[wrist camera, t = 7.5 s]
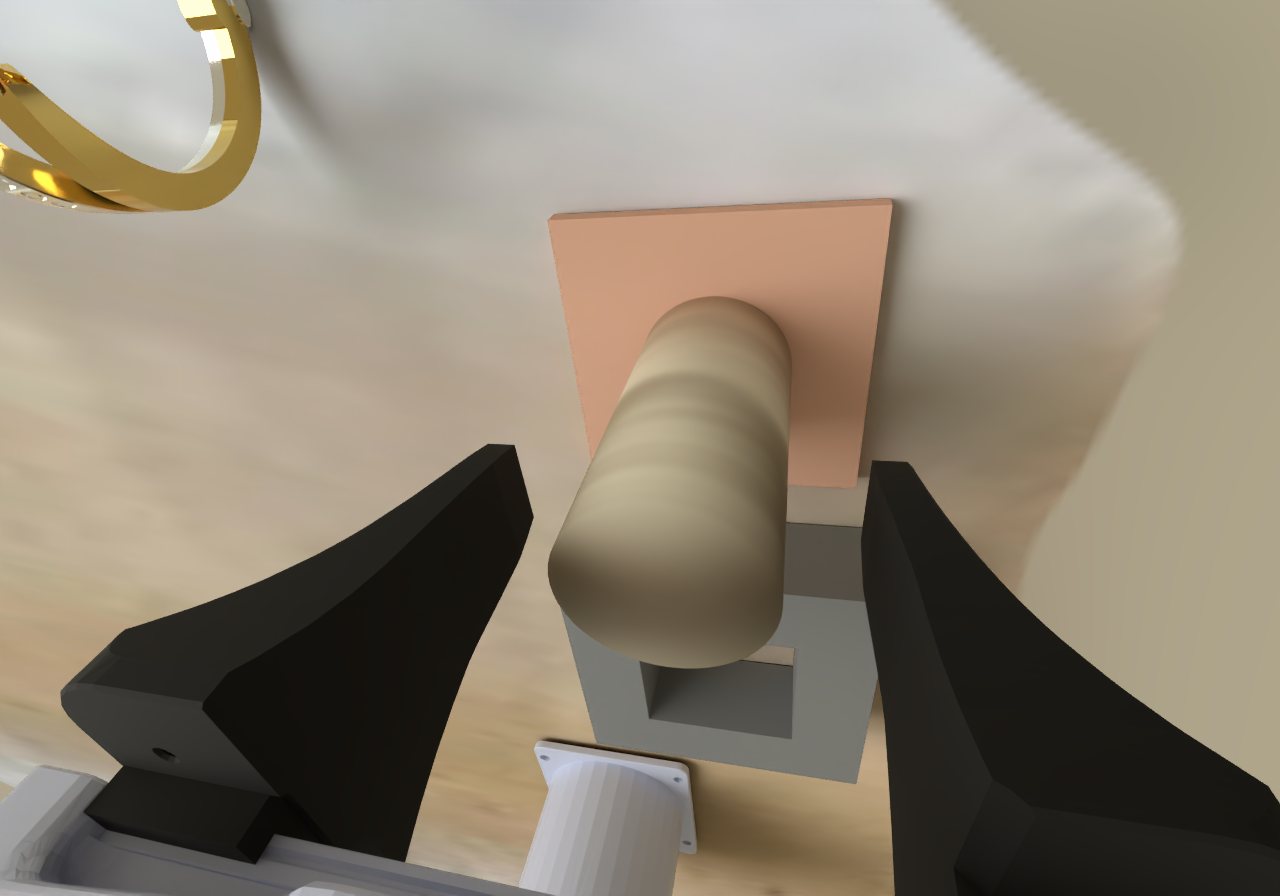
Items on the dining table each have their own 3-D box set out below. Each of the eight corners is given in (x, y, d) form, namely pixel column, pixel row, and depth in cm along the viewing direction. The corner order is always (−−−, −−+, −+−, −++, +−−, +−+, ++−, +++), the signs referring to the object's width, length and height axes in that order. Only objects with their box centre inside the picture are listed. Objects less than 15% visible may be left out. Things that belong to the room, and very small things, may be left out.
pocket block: (851, 709, 25) (856, 784, 23) (614, 678, 28) (596, 743, 25) (881, 529, 19) (892, 604, 17) (578, 509, 22) (551, 572, 19)
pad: (854, 477, 18) (856, 488, 18) (598, 465, 20) (594, 474, 20) (889, 198, 14) (892, 204, 13) (553, 214, 16) (547, 220, 15)
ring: (87, -193, 13) (-604, -363, 6) (216, -221, 12) (-421, -444, 6) (243, 169, 17) (-90, 280, 11) (345, 164, 16) (54, 279, 10)
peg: (788, 430, 17) (779, 680, 11) (650, 426, 18) (569, 654, 12) (795, 294, 15) (787, 514, 9) (635, 297, 16) (526, 497, 10)
